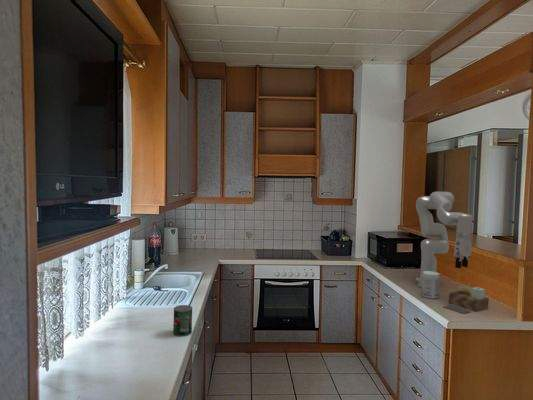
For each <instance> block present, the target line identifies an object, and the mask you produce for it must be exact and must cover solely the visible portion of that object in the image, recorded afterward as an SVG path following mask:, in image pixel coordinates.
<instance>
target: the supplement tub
mask: <svg viewBox="0 0 533 400" xmlns="http://www.w3.org/2000/svg"><path fill="white" fill-rule="evenodd" d="M439 294H440V273H439V272H437V271H436V272H433V271H424V272H423V275H422V287H421V296H422V297H423V298H426V299H432V300H433V299H438V298H439V296H440V295H439Z"/></svg>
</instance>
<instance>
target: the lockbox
mask: <svg viewBox="0 0 533 400" xmlns="http://www.w3.org/2000/svg"><path fill="white" fill-rule="evenodd" d="M448 295H449V296H448V304H449V305H453V306H456V307H459V308H462V309H466V310H469V311H471V312H480V311H483V310H486V309H489V303H490V301H489V300H490V298H489V297H487V296H485V298H483V299H476V298H473V297H471V294H466V293H463V292H459V291H458V290H456V291H452V292H449V294H448Z"/></svg>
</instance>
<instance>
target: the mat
mask: <svg viewBox="0 0 533 400" xmlns="http://www.w3.org/2000/svg"><path fill="white" fill-rule="evenodd" d="M442 308H445V309H447V310H450V311H453V312H456V313H459V314H463V315H465V314H466V315H467V314H469V313H472V310H469V309H466V308H463V307H460V306H456V305H453V304H449V305H444V306H443V307H442Z"/></svg>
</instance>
